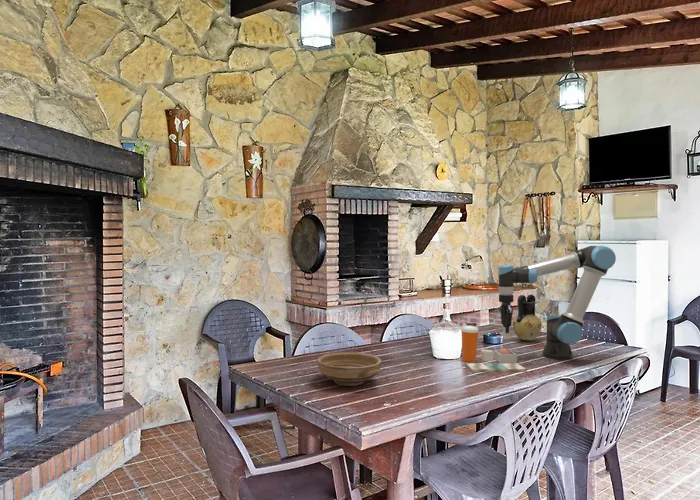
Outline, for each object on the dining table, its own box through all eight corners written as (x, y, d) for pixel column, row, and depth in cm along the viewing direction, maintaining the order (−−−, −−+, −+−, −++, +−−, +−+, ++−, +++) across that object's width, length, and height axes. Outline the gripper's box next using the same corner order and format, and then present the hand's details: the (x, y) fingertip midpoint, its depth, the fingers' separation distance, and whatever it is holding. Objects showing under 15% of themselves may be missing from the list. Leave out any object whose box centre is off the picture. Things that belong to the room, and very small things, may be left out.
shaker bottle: (478, 363, 260) (478, 324, 260) (460, 362, 262) (461, 324, 261) (477, 359, 269) (478, 322, 268) (460, 358, 271) (461, 321, 270)
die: (490, 358, 270) (490, 349, 269) (493, 361, 265) (493, 351, 264) (481, 358, 269) (481, 349, 269) (484, 361, 264) (484, 351, 264)
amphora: (521, 338, 327) (522, 292, 327) (546, 342, 315) (547, 295, 314) (507, 341, 315) (508, 294, 315) (532, 346, 303) (533, 296, 302)
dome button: (508, 358, 269) (508, 346, 269) (513, 361, 262) (513, 349, 262) (497, 358, 268) (497, 346, 268) (501, 361, 262) (501, 349, 262)
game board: (517, 365, 256) (517, 363, 256) (526, 371, 244) (526, 369, 244) (465, 365, 254) (465, 363, 254) (472, 372, 242) (472, 369, 242)
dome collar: (510, 358, 270) (510, 350, 270) (516, 362, 261) (517, 354, 261) (493, 358, 270) (493, 350, 270) (499, 363, 261) (499, 354, 260)
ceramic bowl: (401, 385, 218) (401, 363, 218) (350, 398, 200) (350, 373, 200) (348, 368, 247) (348, 348, 247) (299, 377, 229) (300, 356, 229)
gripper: (494, 293, 271) (495, 336, 271) (503, 295, 258) (503, 341, 258) (508, 293, 271) (508, 336, 272) (517, 295, 258) (518, 341, 259)
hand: (506, 338), depth 265 cm, fingers closed
